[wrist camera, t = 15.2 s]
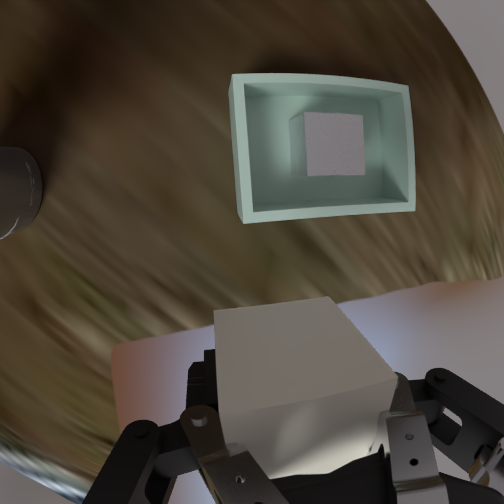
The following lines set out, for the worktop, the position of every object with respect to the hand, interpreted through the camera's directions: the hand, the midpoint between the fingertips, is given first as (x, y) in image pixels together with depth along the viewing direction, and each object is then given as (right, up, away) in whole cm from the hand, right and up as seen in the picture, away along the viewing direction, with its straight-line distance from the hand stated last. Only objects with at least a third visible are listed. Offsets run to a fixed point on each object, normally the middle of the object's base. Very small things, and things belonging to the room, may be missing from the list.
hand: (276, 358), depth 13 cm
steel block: (+5, +14, +14) cm, 21 cm away
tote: (+5, +15, +15) cm, 21 cm away
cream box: (0, 0, 0) cm, 0 cm away
